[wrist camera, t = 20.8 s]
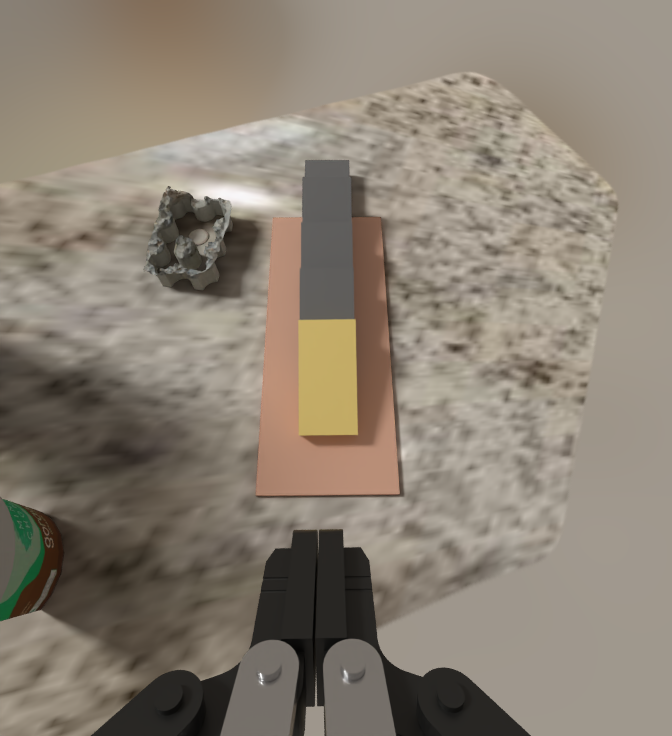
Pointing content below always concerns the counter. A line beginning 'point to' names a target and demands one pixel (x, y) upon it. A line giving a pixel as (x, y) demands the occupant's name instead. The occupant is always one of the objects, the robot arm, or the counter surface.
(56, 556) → the food container
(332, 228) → the charcoal domino
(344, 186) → the charcoal domino
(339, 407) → the ochre domino
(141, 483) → the counter surface
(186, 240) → the egg carton
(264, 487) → the terracotta mat
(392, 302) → the counter surface
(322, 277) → the charcoal domino
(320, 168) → the charcoal domino
